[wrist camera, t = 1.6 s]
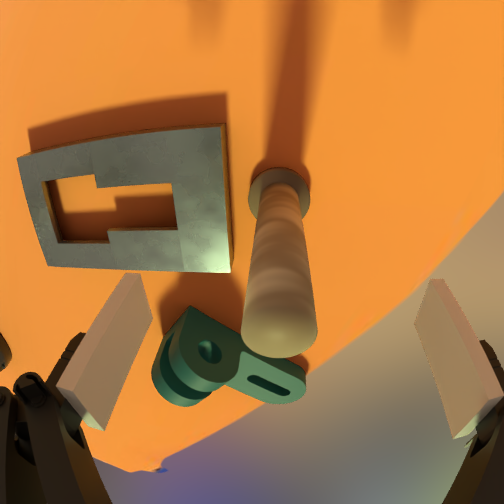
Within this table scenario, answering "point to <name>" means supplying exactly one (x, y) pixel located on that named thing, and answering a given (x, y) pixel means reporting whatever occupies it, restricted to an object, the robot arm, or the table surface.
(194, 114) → the table surface
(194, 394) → the bracket
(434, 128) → the table surface
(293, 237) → the peg
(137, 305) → the robot arm
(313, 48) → the table surface
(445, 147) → the table surface
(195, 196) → the keyhole plate
